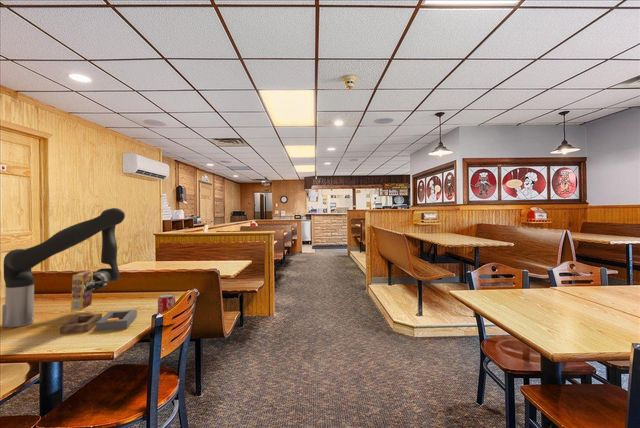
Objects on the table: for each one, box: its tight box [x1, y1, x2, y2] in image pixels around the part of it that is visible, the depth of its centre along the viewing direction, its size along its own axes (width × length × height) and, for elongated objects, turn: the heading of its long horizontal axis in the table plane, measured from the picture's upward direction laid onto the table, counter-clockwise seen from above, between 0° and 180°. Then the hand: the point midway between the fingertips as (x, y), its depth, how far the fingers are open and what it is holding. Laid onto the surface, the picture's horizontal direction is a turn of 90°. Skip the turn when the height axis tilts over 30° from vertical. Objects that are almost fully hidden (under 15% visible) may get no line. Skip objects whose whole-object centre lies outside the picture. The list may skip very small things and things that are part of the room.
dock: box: [95, 308, 138, 332], centre depth 139 cm, size 12×16×4 cm
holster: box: [59, 313, 103, 335], centre depth 135 cm, size 10×15×3 cm, turn 18°
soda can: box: [157, 293, 176, 314], centre depth 139 cm, size 7×7×13 cm
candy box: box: [70, 270, 94, 312], centre depth 135 cm, size 9×4×15 cm, turn 13°
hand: (80, 289), depth 134 cm, fingers closed on candy box, 4 cm apart
